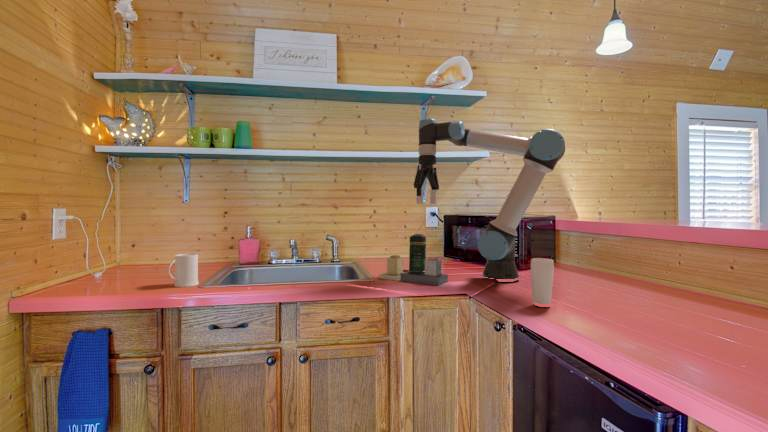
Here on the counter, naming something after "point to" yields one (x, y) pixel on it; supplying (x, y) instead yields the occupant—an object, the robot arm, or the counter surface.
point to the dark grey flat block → (423, 278)
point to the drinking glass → (542, 279)
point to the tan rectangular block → (394, 265)
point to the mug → (185, 270)
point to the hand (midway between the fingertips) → (426, 204)
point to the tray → (389, 277)
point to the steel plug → (433, 267)
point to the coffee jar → (417, 252)
